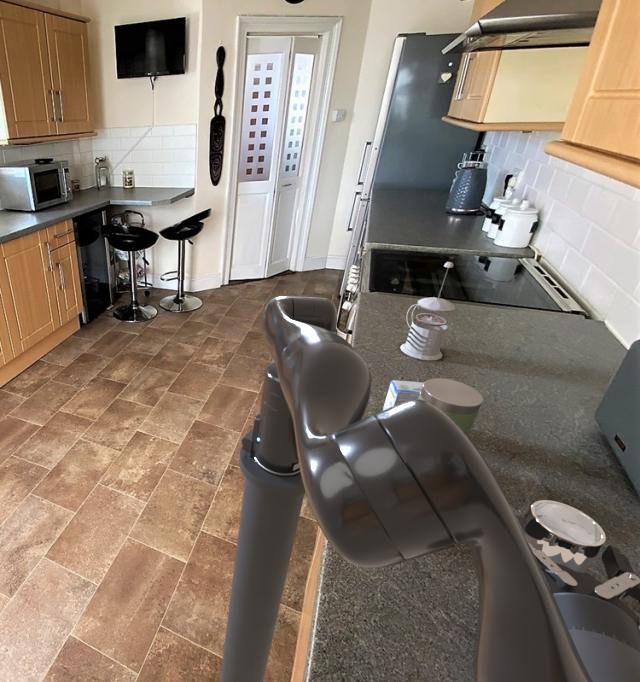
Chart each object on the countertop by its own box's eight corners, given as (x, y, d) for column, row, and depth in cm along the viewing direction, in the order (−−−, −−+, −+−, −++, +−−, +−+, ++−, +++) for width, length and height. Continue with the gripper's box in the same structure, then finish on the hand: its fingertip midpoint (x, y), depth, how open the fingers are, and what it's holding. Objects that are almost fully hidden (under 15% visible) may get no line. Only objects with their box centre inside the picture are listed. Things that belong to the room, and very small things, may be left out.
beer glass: (473, 582, 60) (514, 507, 53) (509, 567, 62) (553, 492, 55) (528, 632, 54) (582, 555, 47) (565, 614, 56) (623, 536, 49)
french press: (420, 362, 112) (451, 270, 100) (386, 342, 122) (410, 256, 110) (451, 357, 113) (485, 265, 102) (416, 337, 124) (442, 252, 112)
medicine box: (421, 416, 92) (433, 382, 88) (429, 429, 89) (442, 395, 85) (381, 412, 94) (391, 379, 90) (387, 425, 90) (397, 391, 86)
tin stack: (393, 463, 81) (417, 393, 73) (405, 440, 86) (428, 372, 79) (448, 486, 75) (479, 413, 68) (457, 460, 81) (487, 389, 73)
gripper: (738, 691, 35) (662, 540, 47) (513, 600, 42) (497, 488, 54) (685, 733, 38) (627, 583, 50) (485, 642, 45) (476, 529, 57)
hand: (559, 534), depth 52 cm, fingers open, 8 cm apart
